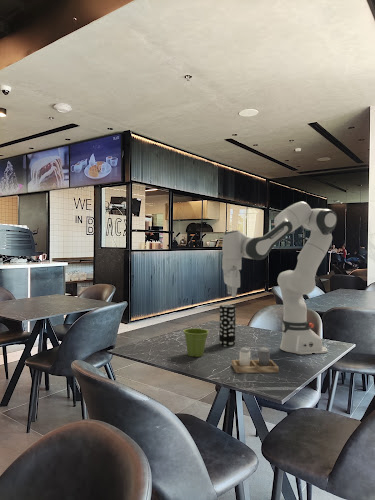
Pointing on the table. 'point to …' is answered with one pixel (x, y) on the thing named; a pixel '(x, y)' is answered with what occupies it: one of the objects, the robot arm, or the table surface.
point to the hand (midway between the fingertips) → (231, 295)
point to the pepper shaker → (264, 357)
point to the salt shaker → (244, 357)
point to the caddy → (254, 367)
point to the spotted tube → (227, 325)
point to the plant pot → (195, 341)
